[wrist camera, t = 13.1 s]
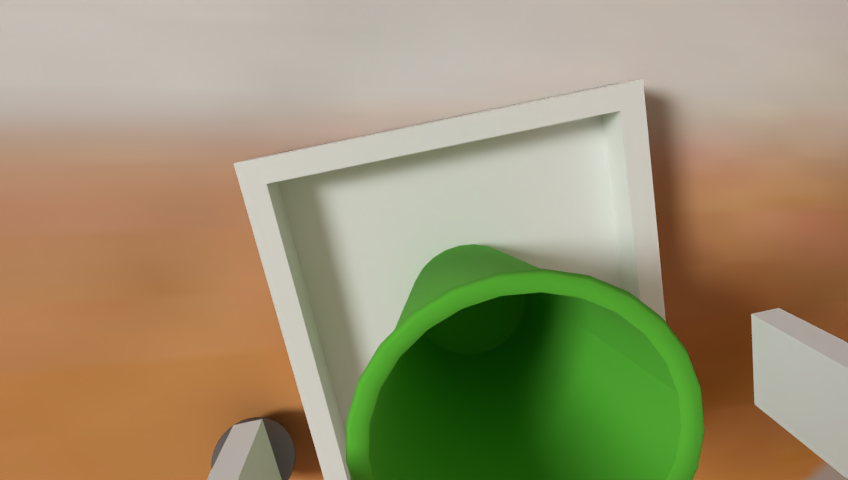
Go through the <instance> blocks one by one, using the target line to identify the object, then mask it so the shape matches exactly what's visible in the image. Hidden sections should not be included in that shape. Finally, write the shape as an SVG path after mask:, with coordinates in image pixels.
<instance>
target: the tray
mask: <svg viewBox="0 0 848 480" xmlns="http://www.w3.org/2000/svg"><path fill="white" fill-rule="evenodd" d="M234 167H235V170H236V174H237V177H238V181H239V184H240V188H241V191H242V195H243V198H244V201H245V205H246V208H247V212H248V215H249V219H250V222H251V226H252V229H253V233H254V236H255V240H256V243H257V247H258V250H259V254H260V257H261V261H262V264H263V268H264V271H265V275H266V278H267V282H268V285H269V289H270V292H271V296H272V299H273V303H274V306H275V310H276V313H277V317H278V320H279V324H280V327H281V331H282V334H283V338H284V341H285V345H286V348H287V352H288V355H289V359H290V362H291V366H292V369H293V373H294V376H295V380H296V383H297V387H298V390H299V394H300V397H301V401H302V404H303V408H304V411H305V415H306V418H307V422H308V425H309V429H310V432H311V436H312V439H313V443H314V446H315V450H316V453H317V457H318V460H319V463H320V467H321V470H322V474H323V477H324V480H351V478H350V474H349V470H348V467H347V463H346V420H347V417H348V413H349V410H350V406H351V403H352V399H353V396H354V393H355V389H356V386H357V382H358V380H359V378H360V377H361V375H362V373H363V372H364V370H365V368H366V367H367V365H368V363H369V362H370V360H371V358H372V357H373V355H374V353H375V352H376V350H377V348H378V347H379V345H380V344H381V343H382V342H383V341H384V340H385V339H386V338H387V337H388V336H389V335H390V334H391V333H392V332H393V331H394V330H395V327H396V325H397V323H398V320H399V318H400V315H401V313H402V311H403V308H404V306H405V304H406V301H407V299H408V297H409V294H410V292H411V290H412V287H413V285H414V283H415V280H416V279H417V277H418V275H419V274H420V272H421V270H422V269H423V267H424V266H425V265H426V264H427V263H428V262H429V261H430V260H431V259H432V258H434V257H435V256H437V255H438V254H440V253H442V252H443V251H445V250H447V249H450V248H453V247H456V246H460V245H471V244H476V245H482V246H488V247H491V248H493V249H496V250H498V251H501V252H503V253H505V254H508V255H510V256H512V257H515V258H517V259H519V260H522V261H524V262H526V263H528V264H531V265H533V266H535V267H538V268H540V269H549V270H556V271H563V272H570V273H576V274H583V275H589V276H592V277H594V278H597V279H599V280H601V281H604V282H606V283H609V284H611V285H613V286H616V287H618V288H621V289H623V290H625V291H628V292H630V293H631V294H632V295H634V296H635V297H636V298H638V299H639V300H640V301H642V302H643V303H644V304H645V305H647V306H648V307H649V308H651V309H652V310H653V311H655V312H656V313H657V314H658V315H660V316H661V317H662V318H663V319H664V320H665V322H666V317H665V307H664V296H663V285H662V275H661V264H660V254H659V243H658V232H657V222H656V211H655V201H654V190H653V179H652V169H651V158H650V148H649V137H648V127H647V116H646V105H645V95H644V84H643V79H641V80H635V81H629V82H623V83H617V84H611V85H607V86H602V87H597V88H592V89H587V90H582V91H578V92H573V93H568V94H563V95H558V96H553V97H548V98H544V99H539V100H534V101H529V102H524V103H519V104H514V105H510V106H505V107H500V108H495V109H490V110H485V111H481V112H476V113H471V114H466V115H461V116H456V117H451V118H447V119H442V120H437V121H432V122H427V123H422V124H418V125H413V126H408V127H403V128H398V129H393V130H388V131H384V132H379V133H374V134H369V135H364V136H359V137H354V138H350V139H345V140H340V141H335V142H330V143H325V144H321V145H316V146H311V147H306V148H301V149H296V150H291V151H287V152H282V153H277V154H272V155H267V156H262V157H257V158H253V159H249V160H245V161H241V162H238V163H234Z"/></svg>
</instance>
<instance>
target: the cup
mask: <svg viewBox="0 0 848 480" xmlns="http://www.w3.org/2000/svg"><path fill="white" fill-rule="evenodd" d="M703 436H704V420H703V407H702V395H701V388H700V385H699V382H698V379H697V377H696V374H695V371H694V368H693V366H692V363H691V360H690V358H689V355H688V352H687V350H686V349H685V347H684V346H683V344H682V343H681V342H680V340H679V339H678V338H677V336H676V335H675V334H674V332H673V331H672V330H671V328H670V327H669V326H668V324H667V323H666V322H665V320H664V319H663V318H662V317H661V316H660V315H658V314H657V313H656V312H655V311H653V310H652V309H651V308H649V307H648V306H647V305H645V304H644V303H643V302H642V301H640V300H639V299H638V298H636V297H635V296H634V295H632V294H631V293H630V292H628V291H625V290H623V289H621V288H618V287H616V286H613V285H611V284H609V283H606V282H604V281H601V280H599V279H597V278H594V277H592V276H589V275H583V274H576V273H570V272H563V271H556V270H549V269H540V268H538V267H535V266H533V265H531V264H528V263H526V262H524V261H522V260H519V259H517V258H515V257H512V256H510V255H508V254H505V253H503V252H501V251H498V250H496V249H493V248H491V247H488V246H482V245H476V244H471V245H460V246H456V247H453V248H450V249H447V250H445V251H443V252H442V253H440V254H438V255H437V256H435V257H434V258H432V259H431V260H430V261H429V262H428V263H427V264H426V265H425V266H424V267H423V269H422V270H421V272H420V274H419V275H418V277H417V279H416V280H415V283H414V285H413V287H412V290H411V292H410V294H409V297H408V299H407V301H406V304H405V306H404V308H403V311H402V313H401V315H400V318H399V320H398V323H397V325H396V327H395V330H394V331H393V332H392V333H391V334H390V335H389V336H388V337H387V338H386V339H385V340H384V341H383V342H382V343H381V344H380V345H379V347H378V348H377V350H376V352H375V353H374V355H373V357H372V358H371V360H370V362H369V363H368V365H367V367H366V368H365V370H364V372H363V373H362V375H361V377H360V378H359V380H358V382H357V386H356V389H355V393H354V396H353V399H352V403H351V406H350V410H349V413H348V417H347V420H346V463H347V467H348V470H349V474H350V478H351V480H692V479H693V477H694V475H695V472H696V470H697V468H698V462H699V457H700V452H701V446H702V441H703Z"/></svg>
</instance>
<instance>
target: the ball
mask: <svg viewBox="0 0 848 480" xmlns="http://www.w3.org/2000/svg"><path fill="white" fill-rule="evenodd" d="M260 419H263V422H264V426H265V429H266V432H267V435H268V438H269V441H270V444H271V447H272V451H273V454H274V457H275V460H276V463H277V466H278V469H279V472H280V476H281V479H282V480H289V478H290V476H291V474H292V471H293V468H294V464H295V447H294V443H293V440H292V438H291V436H290V434H289V433H288V431H287V430H286V429H285V428H284V427H283V426H282V425H281V424H279V423H278V422H276V421H274V420H271V419H268V418H261V417H254V418H249V419H245V420H243V421H240V422H238V423H236V424H235V425H237V424H241V423H246V422H251V421H255V420H260ZM232 427H233V426H232ZM232 427H231V428H229V429H228V430H227V431H226V432H225V433H224V434H223V435H222V437H221V438H220V440H219V441H218V443H217V445H216V447H215V450H214V452H213V457H212V464H211V469H212V468H213V466H214V464H215V462H216V460H217V458H218V456H219V454H220V452H221V449H222V447H223V445H224V443H225V441H226V439H227V437H228V435H229V433H230V431H231V429H232Z"/></svg>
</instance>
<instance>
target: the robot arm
mask: <svg viewBox="0 0 848 480" xmlns="http://www.w3.org/2000/svg"><path fill="white" fill-rule="evenodd" d="M751 323H752V350H753V378H754V404H755V405H756V406H757V407H758V408H760V409H761V410H762V411H763V412H765V413H766V414H767V415H768V416H770V417H771V418H772V419H773V420H775V421H776V422H777V423H778V424H780V425H781V426H782V427H783V428H784V429H786V430H787V431H788V432H789V433H791V434H792V435H793V436H794V437H796V438H797V439H798V440H799V441H801V442H802V443H803V444H804V445H806V446H807V447H808V448H809V449H811V450H812V451H813V452H814V453H816V454H817V455H818V456H819V457H820V458H822V459H823V460H824V461H825V462H827V463H828V464H829V465H830V466H832V467H833V468H834V469H836V470H837V471H838V472H839V473H840V474H842V475H843V476H844V477H845V478H847V479H848V343H847V342H845V341H843V340H841V339H839V338H837V337H836V336H834V335H832V334H830V333H828V332H826V331H824V330H822V329H820V328H818V327H816V326H814V325H812V324H810V323H808V322H806V321H804V320H802V319H800V318H798V317H796V316H794V315H792V314H790V313H788V312H786V311H784V310H782V309H780V308H776V309H772V310H767V311H762V312H758V313H753V314H751ZM207 480H282V479H281V476H280V472H279V469H278V466H277V463H276V460H275V457H274V454H273V451H272V447H271V444H270V441H269V438H268V435H267V432H266V429H265V426H264V422H263V419H260V420H255V421H251V422H246V423H241V424H237V425H233V427H232V429H231V431H230V433H229V435H228V437H227V439H226V441H225V443H224V445H223V447H222V449H221V452H220V454H219V456H218V458H217V460H216V462H215V464H214V466H213V468H212V470H211V472H210V474H209V476H208V478H207Z"/></svg>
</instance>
